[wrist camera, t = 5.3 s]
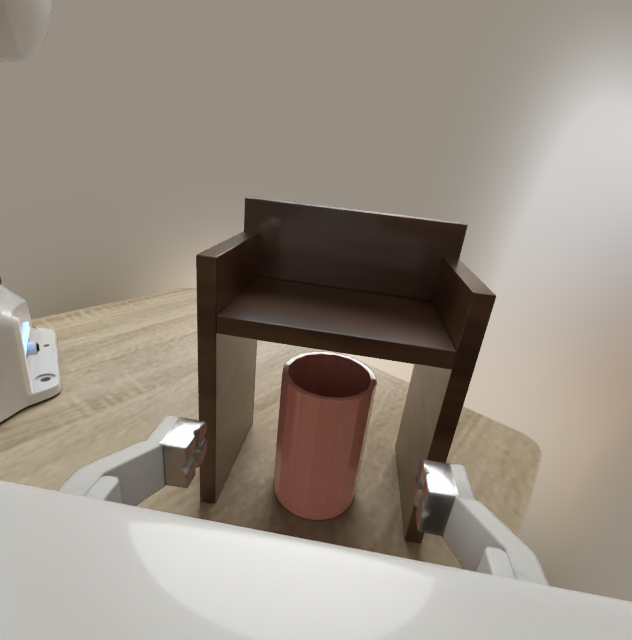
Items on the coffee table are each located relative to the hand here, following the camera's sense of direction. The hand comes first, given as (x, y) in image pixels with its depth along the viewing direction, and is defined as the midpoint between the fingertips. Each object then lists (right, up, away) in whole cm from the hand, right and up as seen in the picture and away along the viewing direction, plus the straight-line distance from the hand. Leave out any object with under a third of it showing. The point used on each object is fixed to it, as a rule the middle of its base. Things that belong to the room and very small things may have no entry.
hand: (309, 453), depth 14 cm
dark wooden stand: (0, -8, +18) cm, 20 cm away
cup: (0, -8, +16) cm, 19 cm away
